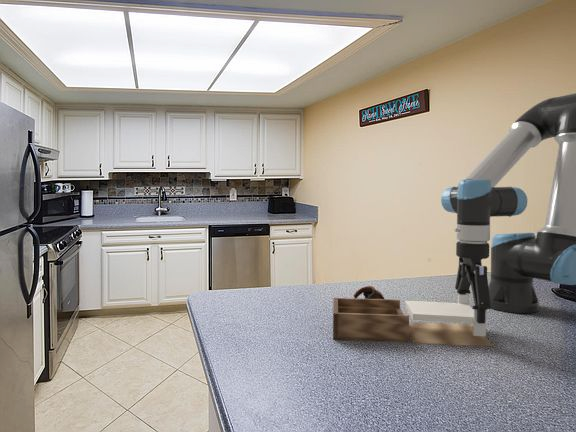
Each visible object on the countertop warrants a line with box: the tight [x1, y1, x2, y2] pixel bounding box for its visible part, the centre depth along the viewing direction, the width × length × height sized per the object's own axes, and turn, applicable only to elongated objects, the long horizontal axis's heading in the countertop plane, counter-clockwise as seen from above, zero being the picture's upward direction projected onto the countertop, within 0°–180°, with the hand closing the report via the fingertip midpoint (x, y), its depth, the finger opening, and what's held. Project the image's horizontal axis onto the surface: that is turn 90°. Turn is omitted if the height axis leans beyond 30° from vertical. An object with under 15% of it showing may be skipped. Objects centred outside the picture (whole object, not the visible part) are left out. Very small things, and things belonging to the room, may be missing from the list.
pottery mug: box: [353, 285, 385, 299], centre depth 126 cm, size 12×10×8 cm
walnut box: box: [332, 297, 410, 344], centre depth 107 cm, size 18×15×6 cm
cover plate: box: [404, 299, 473, 324], centre depth 105 cm, size 16×12×2 cm
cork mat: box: [409, 321, 493, 347], centre depth 105 cm, size 18×15×1 cm
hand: (470, 326), depth 104 cm, fingers closed on cover plate, 12 cm apart
